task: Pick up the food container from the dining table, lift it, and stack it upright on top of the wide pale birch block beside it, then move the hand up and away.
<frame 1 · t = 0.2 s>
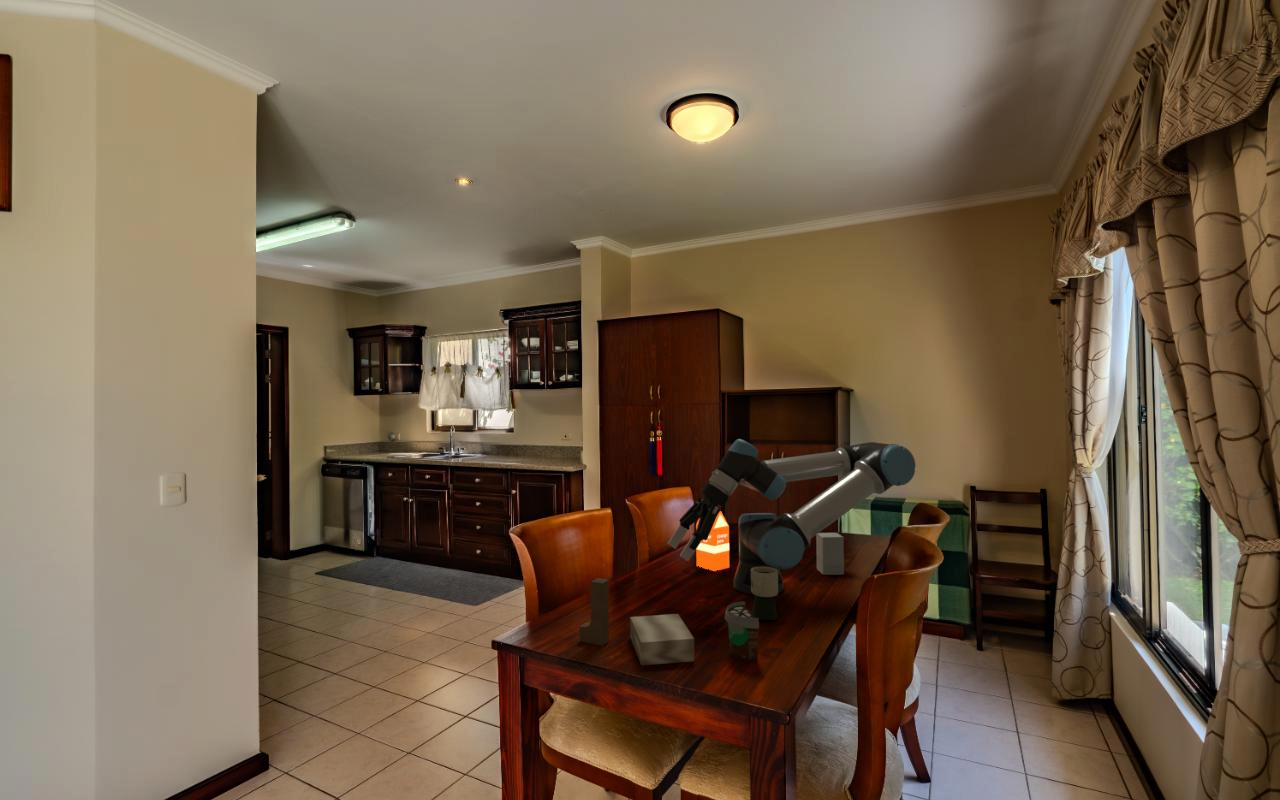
hand: (677, 552, 168), 16 cm above the table, tool tilted 35°, fingers open, 13 cm apart
birch block: (660, 648, 141), on the table
wooden block: (594, 642, 145), on the table
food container: (738, 654, 138), on the table
supplement box: (830, 572, 203), on the table
orange juice: (712, 567, 211), on the table
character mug: (764, 619, 160), on the table
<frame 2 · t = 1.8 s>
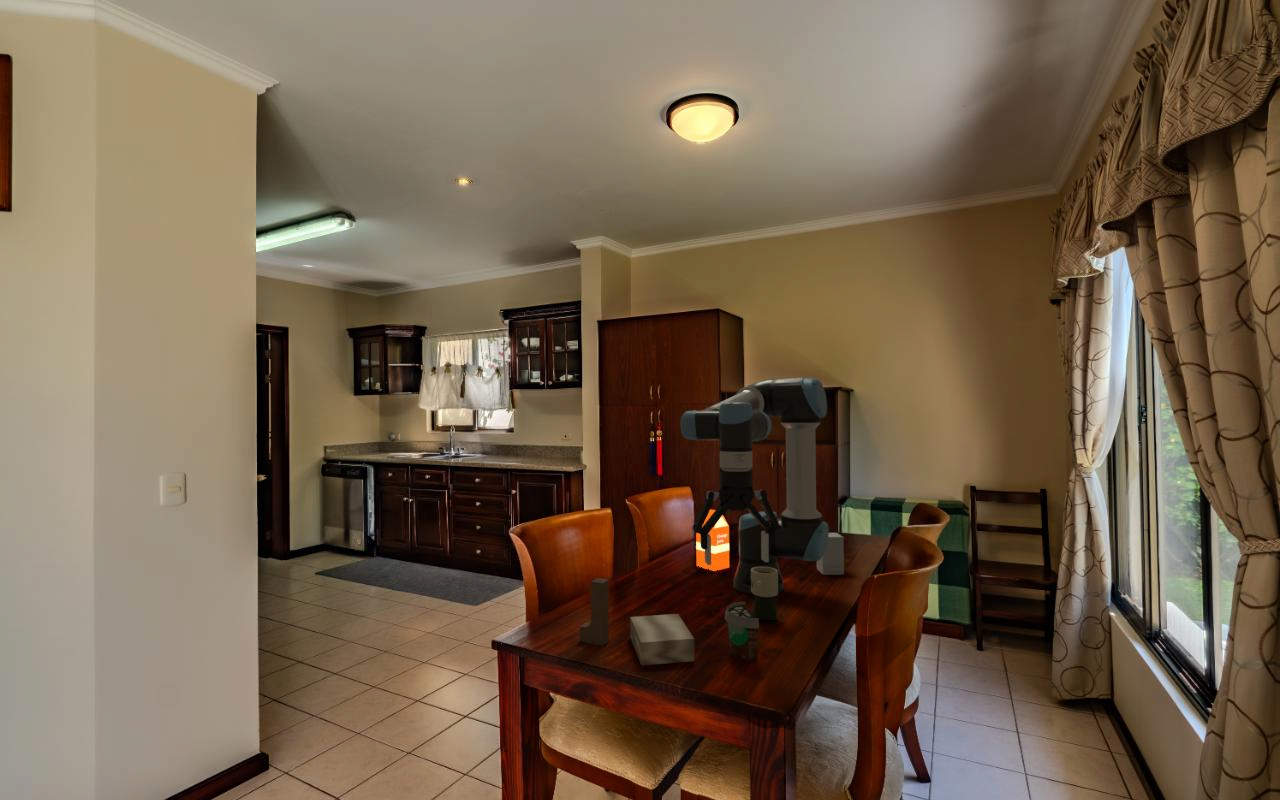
hand: (736, 562, 138), 21 cm above the table, tool pointing down, fingers open, 13 cm apart
nothing on the table moved.
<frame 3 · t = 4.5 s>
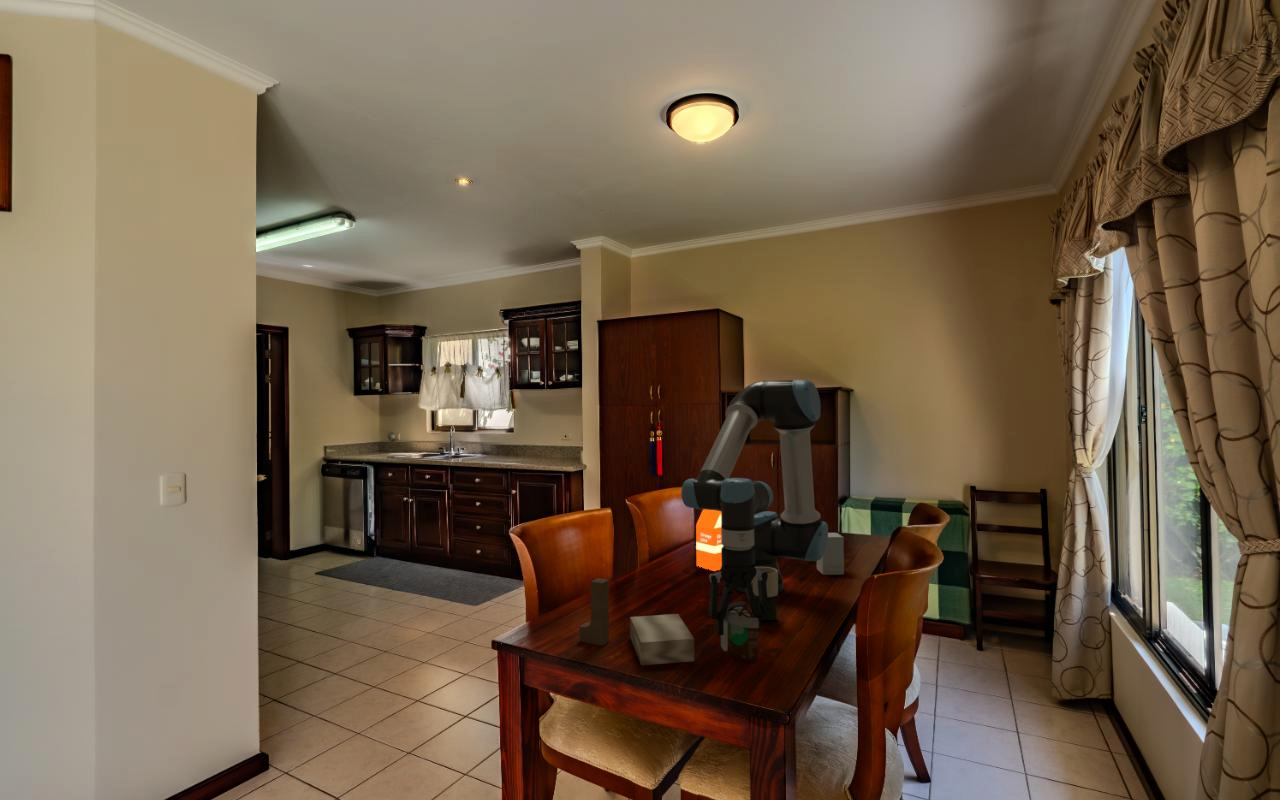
hand: (738, 647, 138), 1 cm above the table, tool pointing down, fingers closed on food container, 6 cm apart
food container: (738, 654, 138), on the table, touching gripper
everything else where it was.
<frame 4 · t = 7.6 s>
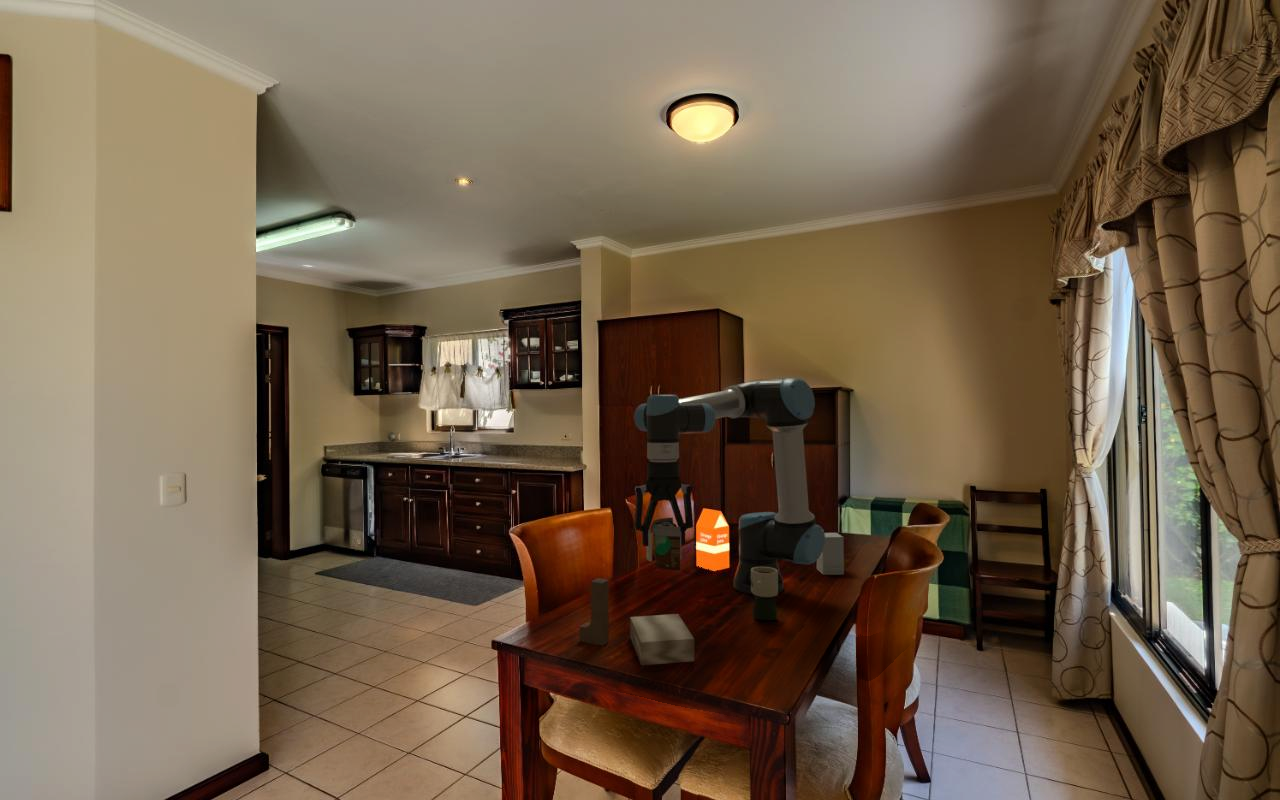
hand: (663, 558, 141), 21 cm above the table, tool pointing down, fingers closed on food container, 6 cm apart
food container: (663, 566, 140), point 19 cm above the table, touching gripper
everything else where it was.
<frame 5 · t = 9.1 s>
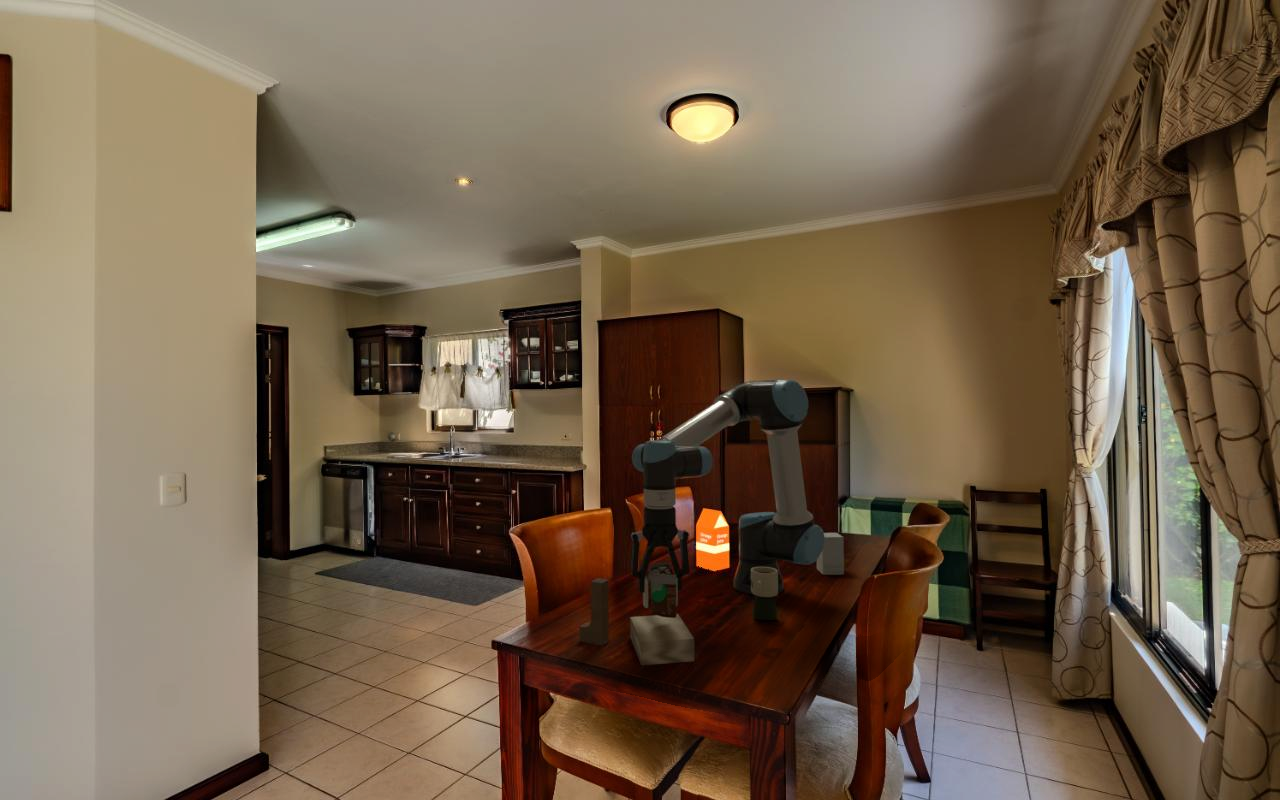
hand: (660, 604, 141), 10 cm above the table, tool pointing down, fingers closed on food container, 6 cm apart
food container: (660, 612, 141), point 9 cm above the table, touching gripper
everything else where it was.
when the fingers open (7 cm above the table, at t = 10.5 s): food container stays where it is, resting on birch block.
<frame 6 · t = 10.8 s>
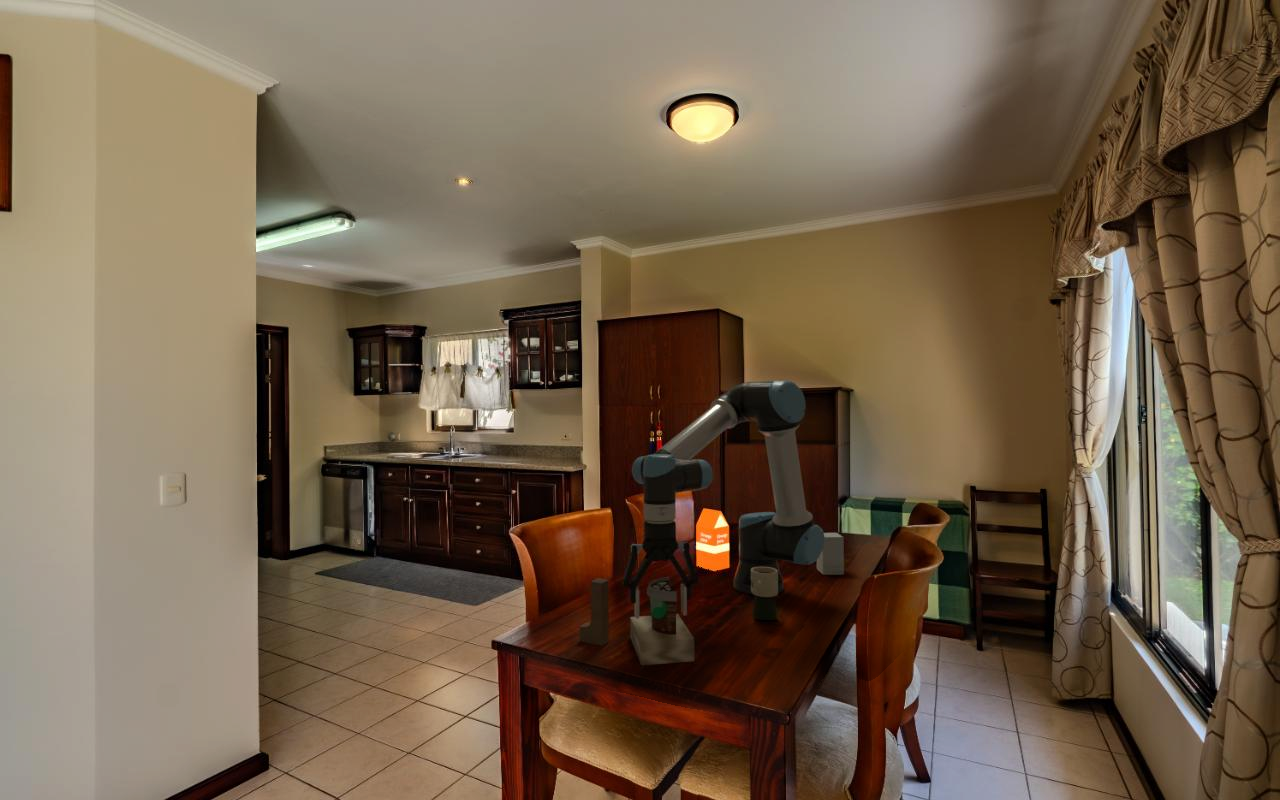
hand: (660, 615, 141), 8 cm above the table, tool pointing down, fingers open, 10 cm apart
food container: (660, 628, 141), point 5 cm above the table, touching birch block
everything else where it was.
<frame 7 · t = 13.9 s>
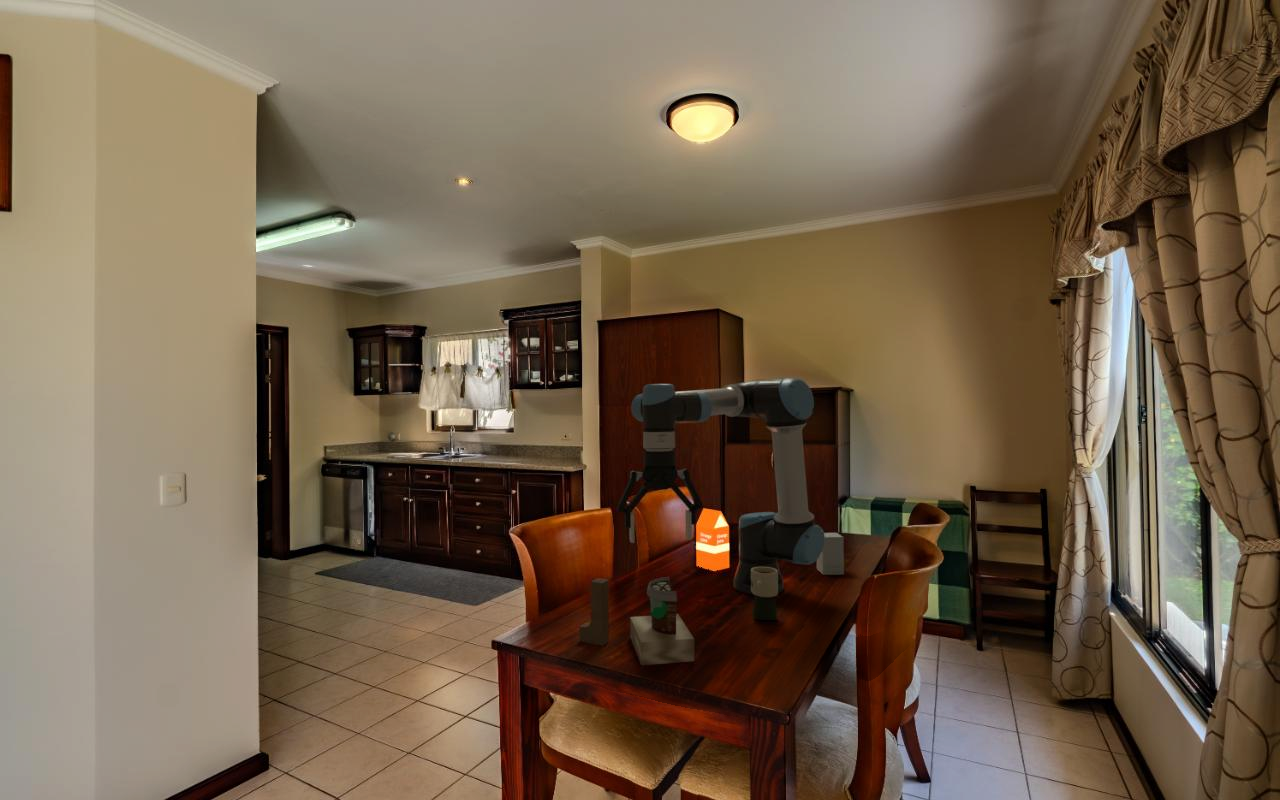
hand: (660, 540, 141), 25 cm above the table, tool pointing down, fingers open, 13 cm apart
nothing on the table moved.
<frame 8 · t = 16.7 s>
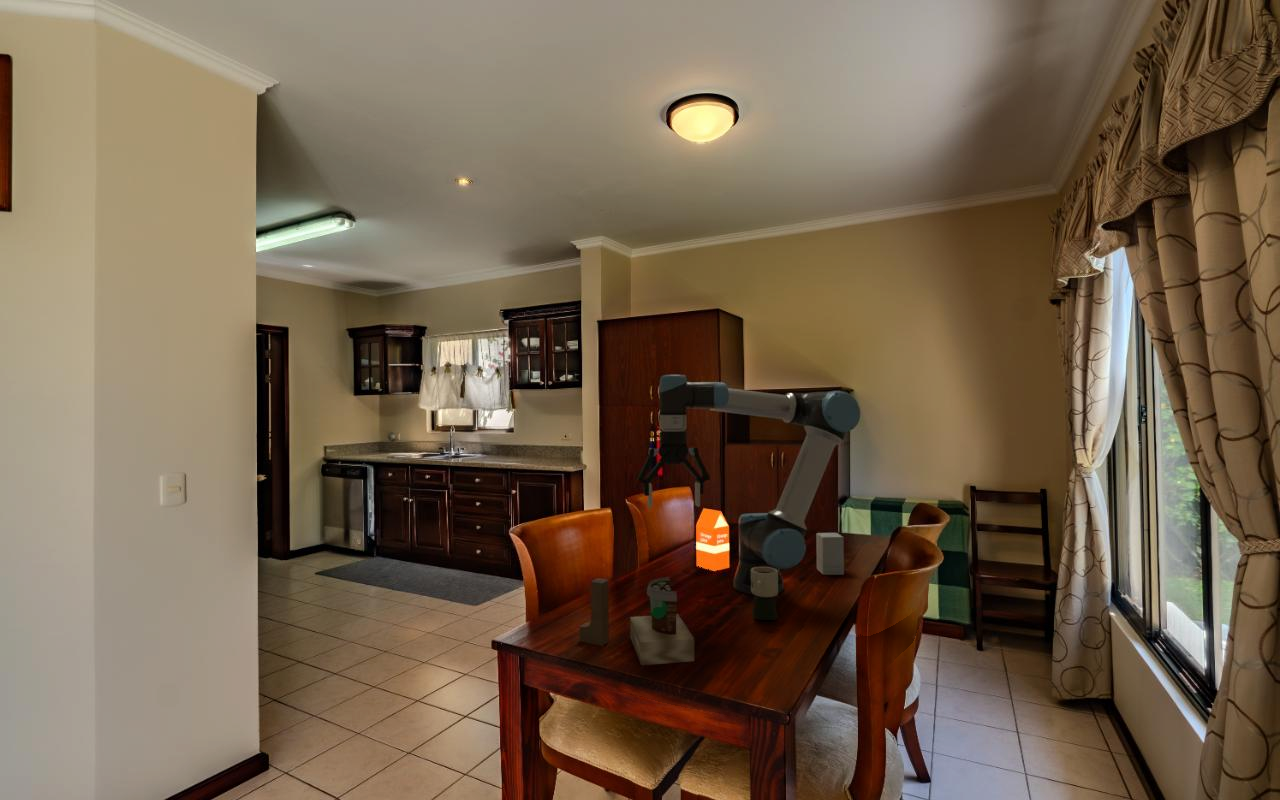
hand: (673, 506, 167), 29 cm above the table, tool pointing down, fingers open, 13 cm apart
nothing on the table moved.
at the end: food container inside the target area on the birch block (0.1 cm from its centre), point 4.8 cm above the birch block's base; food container tilted 0°; the gripper is holding nothing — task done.
